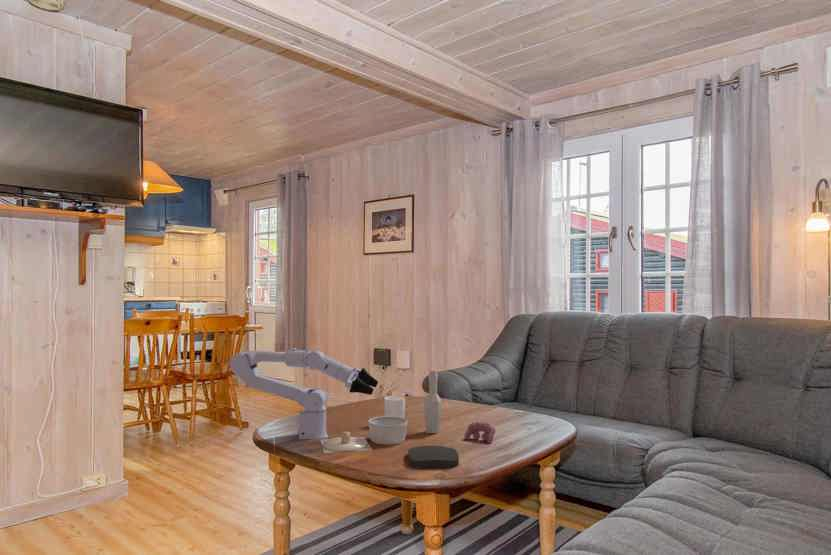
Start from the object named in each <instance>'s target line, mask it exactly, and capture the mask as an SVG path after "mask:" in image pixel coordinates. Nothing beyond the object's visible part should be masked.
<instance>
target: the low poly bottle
mask: <svg viewBox="0 0 831 555" xmlns="http://www.w3.org/2000/svg"><path fill="white" fill-rule="evenodd" d="M438 379H439V375H438V371H437V369H430V370H429V372H428V394H427V395H426V397H425V398H424V402H423V412H424V413H423V414H424V424H425V432H426V434H429V433H437V434H439V433H440V428H441V422H442V421H441V420H442V413H443V411H442V410H443V407H442V405H443V404H442V403H443V401H442V399H441V397H440V396H439V394H438V381H439V380H438Z"/></svg>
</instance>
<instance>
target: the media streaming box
mask: <svg viewBox="0 0 831 555" xmlns="http://www.w3.org/2000/svg"><path fill="white" fill-rule="evenodd" d="M407 451H408V452H407V459H408V464H409V466H410V465H411V467H412V466H414V467H413V468H416V467H419V468H418V469H446V468H447V469H450V468H451V467H452V468H456V467H458V466H459V464H460V462H459V461H460V457H459V454H458V451H457V449H456V448H453V447H449V446H443V445H433V444H431V445H420V446H414V447H410V448H408V450H407ZM455 466H456V467H455Z"/></svg>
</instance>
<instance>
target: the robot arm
mask: <svg viewBox="0 0 831 555" xmlns="http://www.w3.org/2000/svg"><path fill="white" fill-rule="evenodd" d="M261 362H263V363H264V362H265V363H268V362H269V363H284V364H285V365H286V366H287V367H291V368H307V367H308V368H309V370H317V371H319V372H321V373H323V374H325V375H327V376H328V377H331V378H333V379H335V380H336V381H339V382H341V383H343V384H344V387H346V389H347V388H348V389H349V393H350V394H351V393H353V394H354V393H360V394H365V395H369V396H372V395H373V393H374V390H375V389H374V388H377V386H378V383H379V381H378V380H377V379H376V378H374V377H373V376H372V375H371V374H370V373H369V372H368V371H367V370H366V368H364V367H362V368H361V369H360V368H358V366H357V365H356V366H354V368H353V367H351V366H349V365H347V364H345V363H342V362H340V361H338V360H337V359H334V358H332V357H329V356H327V355H325V353H324V352H323V351H321V350H317V349H315V350H312V351H311V349H306V350H304V349H303V350H302V349H300V350H299V349H297V348H296V347H293V348H291V349H288V350H287V351H286V352H279V351H269V350H259V349H255V350H244V351H241V352H237V353H235V354H233V355H232V356H231V358H230V361H229V365H230V369H231V371H232V374H235V375H236V376H237V377H238V378H239V379H240V380H241V381H242V382H243V383H244V385H246V386H247V387H249V388H252V389H255V390H259V391H261V392H265V393H267V394H268V393H269V394H271V395H275V396H278V397H281V398H283V399H286V400H287V399H288V400H290V401H294V402H296V403H297V404H298V405H299V406H302V407H303V408H304V410H301V411H298V428H297V434H298V438H299V440H314V439H329V436H328V433H327V408H326V403H327V401H328V399H329V398H328V393H327V392H326V391H325V390H324V389H323V388H319V387H318V388H310V387H302V386H299V385H295V384H291V383H290V382H286V381H283V380H279V379H276V378H273V377H270V376H267V375H263V374H260V370H259V369H258V364H259V363H261Z"/></svg>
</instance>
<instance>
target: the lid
mask: <svg viewBox="0 0 831 555" xmlns="http://www.w3.org/2000/svg"><path fill="white" fill-rule="evenodd" d="M340 435H341V436H340V437H339V436H337V437H333V438H327V439H328V440H326V441H325V442H324V448H326V449H328V450H333V451H348V452H356V451H355V450H360V449H363V448H365V447H366V446H367V442H368V440H367V439H366V438H365V439H366V440H367V441H366V440H365V439H362V438H359V437H356V436H351V432H350V431H341V434H340Z"/></svg>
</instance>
